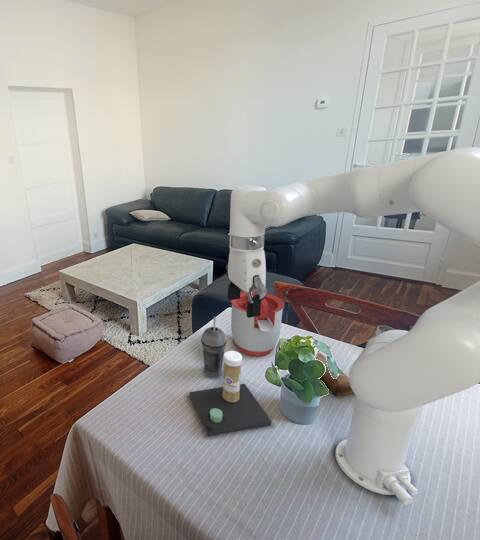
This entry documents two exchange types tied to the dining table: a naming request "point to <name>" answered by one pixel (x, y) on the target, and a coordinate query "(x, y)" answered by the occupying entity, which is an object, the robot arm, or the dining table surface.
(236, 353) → the sprinkles bottle
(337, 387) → the brown leather shoe
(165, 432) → the dining table surface
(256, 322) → the citrus juicer
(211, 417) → the tare button
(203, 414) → the scale
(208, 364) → the beverage cup
